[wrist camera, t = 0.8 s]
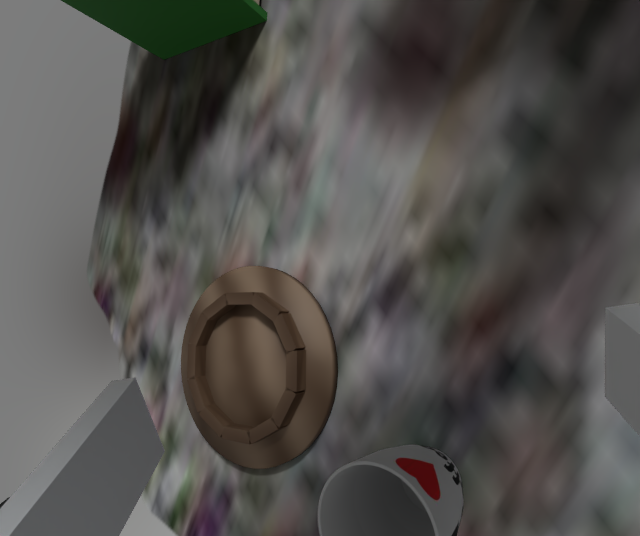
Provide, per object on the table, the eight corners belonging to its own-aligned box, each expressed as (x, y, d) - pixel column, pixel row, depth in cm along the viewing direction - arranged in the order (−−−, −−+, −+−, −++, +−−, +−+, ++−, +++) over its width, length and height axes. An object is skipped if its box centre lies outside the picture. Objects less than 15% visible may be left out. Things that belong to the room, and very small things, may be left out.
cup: (503, 524, 32) (466, 600, 23) (406, 545, 35) (344, 616, 27) (453, 413, 34) (404, 445, 26) (368, 443, 38) (301, 479, 30)
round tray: (284, 229, 45) (268, 225, 43) (374, 417, 38) (361, 423, 36) (168, 324, 53) (150, 325, 51) (224, 493, 46) (206, 502, 44)
